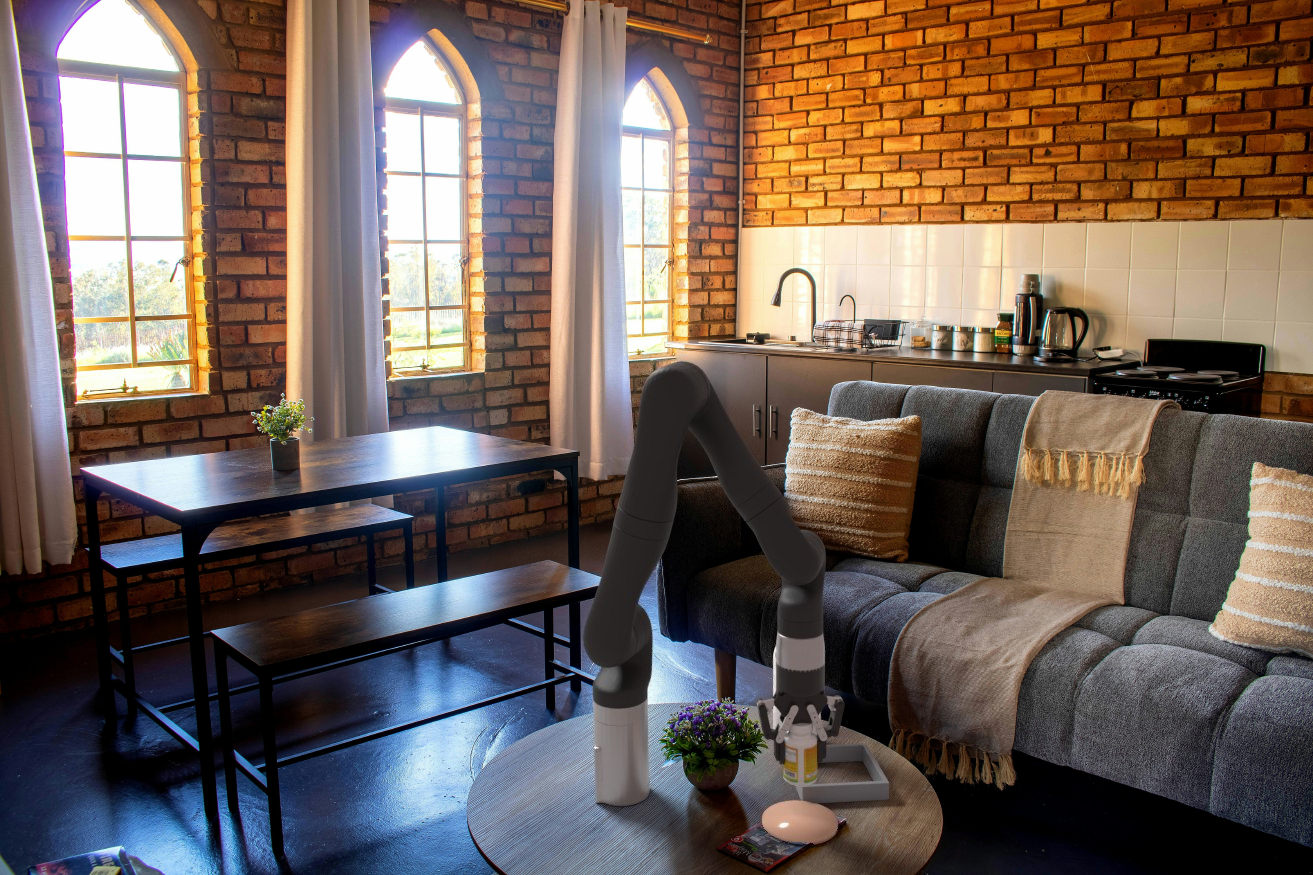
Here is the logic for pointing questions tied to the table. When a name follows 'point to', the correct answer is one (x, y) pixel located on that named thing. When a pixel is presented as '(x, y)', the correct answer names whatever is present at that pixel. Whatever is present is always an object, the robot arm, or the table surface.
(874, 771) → the bin
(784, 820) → the plate
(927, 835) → the table surface
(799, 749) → the supplement bottle
